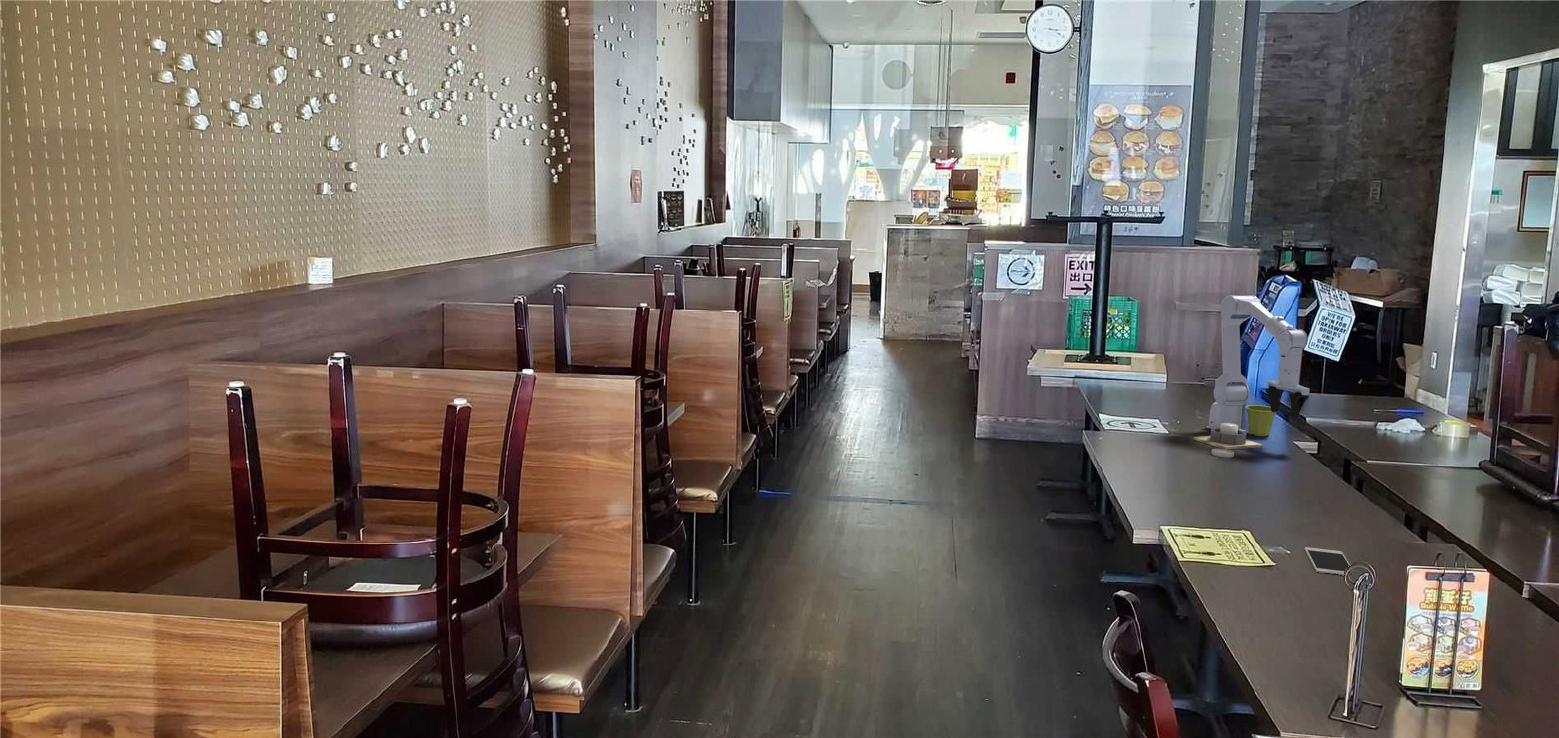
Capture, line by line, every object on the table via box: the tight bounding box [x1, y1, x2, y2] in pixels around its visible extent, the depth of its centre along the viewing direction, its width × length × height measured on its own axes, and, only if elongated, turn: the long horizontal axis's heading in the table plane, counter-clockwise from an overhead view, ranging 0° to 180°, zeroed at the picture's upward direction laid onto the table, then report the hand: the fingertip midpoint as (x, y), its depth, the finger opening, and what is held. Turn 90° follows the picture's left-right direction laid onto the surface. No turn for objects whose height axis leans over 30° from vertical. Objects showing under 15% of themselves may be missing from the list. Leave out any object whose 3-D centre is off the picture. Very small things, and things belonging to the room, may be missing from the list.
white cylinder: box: [1220, 423, 1238, 434], centre depth 322 cm, size 5×5×5 cm
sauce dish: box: [1211, 448, 1235, 459], centre depth 307 cm, size 6×6×2 cm
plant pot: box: [1245, 404, 1277, 437], centre depth 336 cm, size 9×9×9 cm
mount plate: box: [1192, 435, 1264, 451], centre depth 323 cm, size 14×14×1 cm
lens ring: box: [1209, 428, 1248, 445], centre depth 322 cm, size 10×10×3 cm
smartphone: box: [1304, 546, 1351, 577], centre depth 215 cm, size 7×16×1 cm, turn 162°
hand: (1284, 414), depth 317 cm, fingers open, 7 cm apart
